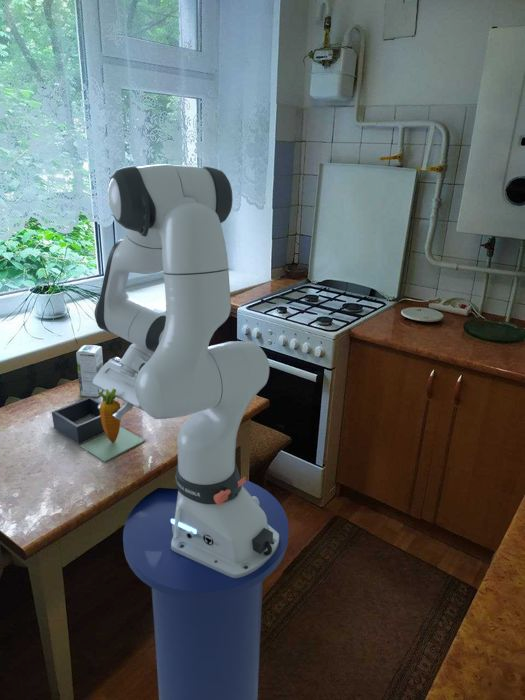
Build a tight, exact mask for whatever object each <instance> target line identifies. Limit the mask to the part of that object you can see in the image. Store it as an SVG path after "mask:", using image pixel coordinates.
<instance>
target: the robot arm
mask: <svg viewBox="0 0 525 700" xmlns="http://www.w3.org/2000/svg"><path fill="white" fill-rule="evenodd" d="M108 184H109V185H108V189H107V201H108V202H107V203H108V206H109V209H110V212H111V213H112V216H113V218H114V220H115V222H117V223H118V224H119V225H120V226H122V227H123V228H124V236H123V238H120V239H119V240H117V241H116V242H115V243H114V244H113V246H112V247H111V249H110V252H109V254H108V257H107V262H106V265H105V271H104V276H103V280H102V285H101V290H100V294H99V298H98V300H97V302H96V304H95V307H94V319H95V322H96V325H97V327H98V328H99V329H100V330H103V331H105V332H108V333H110V334H113V335H115V336H118V337H120V338H121V339H124V340H125V341H127V342H129V343H131V344H130V345H129V347H128V348H127V349H126V351H125V352H124V355H123V356H122V357H121V358H120V357H118V356H114V357H112V358H110V359H108V361H107V362H105V363H103V367H102V368H101V369H100V370H99V372H98V373H97V374H96V376H95V377H94V379H93V385H95V386H96V387H98V388H100V389H102V390H103V392H102V393H103V394H104V396H105V397H106V389H108V393H111V392H112V389H113V388H114V389H116V392H115V395H116V397H115V398H118V399H120V400H121V401H123V402H122V404H121V405H122V406H120V409H119V410H118V411H117V410H115V411H114V413H113V415H112V416H113V417H114V418H116V419H118V420H120V419H121V420H122V418H123V416H124V415H125V414H127V413H128V412H130V411H131V410H132V408H133V407H135V408H137V409H139V410H141V411H143V412H145V413H146V414H147V415H148V416H150V417H151V418H153V419H154V420H165V419H167V420H168V419H174V418H175V419H177V418H183V417H187V416H190V415H191V416H190V417H188V419H186V420H185V422H184V423H183V424H182V425H181V427H180V429H179V431H178V434H177V437H176V443H177V444H176V446H177V464H176V469H175V482H176V483H175V485H176V489H178V497H177V504H176V512H175V517H174V519H171V523H172V532H173V538H172V541H171V549H172V550H173V551H174V552H176V553H179V554H181V555H183V556H185V557H187V558H190V559H192V560H194V561H196V562H198V563H201V564H203V565H205V566H207V567H209V568H212V569H214V570H216V571H218V572H220V573H223V574H225V575H227V576H229V577H232V578H240V577H243V576H246V575H248V574H250V573H252V572H254V571H255V570H257V569H258V568H260V567H261V566H262V565H263V564H264V563H265V562H266V561H267V560H268V559H269V558H270V557H271V556H272V555H273V554H274V552H275V551H276V549H277V547H278V544H279V534H278V533H277V532H276V531H275V530H274V529H273V528H272V527H270V526H269V525H268V523H267V517H266V514H265V512H264V511H263V510H262V509H261V507H260V506H259V504H260V503H259V500H258V498H257V497H256V496H253V497H252V496H251V495H250V494H249V493H248V492H247V490H246V489H245V488H244V487H243V486H242V484H244V483H245V482H246V481H247V477H246V476H244V477H243V478H241V476H240V475H241V474H240V472H239V469H238V466H237V463H236V449H237V437H238V433H239V432H238V431H239V429H240V426H241V423H242V420H243V418H244V416H245V413H246V412H247V410H248V408H249V406H250V405H251V403H252V401H253V400H254V398H255V397H256V396H257V394H258V393H259V392H260V391H261V390H262V389H263V388H264V387H265V386H266V385H267V383H268V380H269V377H270V363H269V359H268V357H267V354H266V353H265V351H264V350H263V348H262V347H261V346H260V345H258V344H257V343H256V342H254V341H243V340H241V341H240V340H239V341H235V340H234V341H225V342H222V343H217V344H213V345H210V342H211V339H212V338H213V336H214V334H215V332H216V331H217V330H218V328H220V327H221V326H222V325H223V324H225V322H226V321H227V320H228V318H229V317H230V314H231V311H232V300H231V298H232V297H231V288H230V287H231V286H230V273H229V271H230V270H229V260H228V252H227V246H226V241H225V235H224V231H223V227H222V223H224V222H225V221H226V220H227V219H228V218H229V215H230V214H231V212H232V209H233V198H234V197H233V189H232V186H231V182H230V180H229V178H228V177H227V175H226V173H224V172H223V171H222V170H220V169H218V168H215V167H210V166H201V167H199V166H191V165H190V166H189V165H173V164H171V163H167V164H166V163H165V164H151V165H150V164H149V165H143V166H136V165H128V166H124V167H121V168H117V169H115V170H114V172H112V175H111V176H110V178H109V183H108ZM162 271H163V282H164V293H165V294H164V295H165V306H163V305H161V306H158V307H156V308H153V307H151V306H148V305H146V304H145V303H142V302H140V301H138V300H136V299H134V298H132V297H131V296H130V295H129V294H128V293H127V292H126V288H127V283H128V279H129V276H130V273H135V274H141V275H151V274H156V273H160V272H162ZM209 345H210V346H209ZM102 402H105V400H104V399H103V398H102V396H101V395H100V404H99V406H98V409H100V406H101V403H102ZM244 480H245V481H244ZM182 547H183V548H182ZM245 568H247V569H245Z"/></svg>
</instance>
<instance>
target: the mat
mask: <svg viewBox="0 0 525 700" xmlns="http://www.w3.org/2000/svg"><path fill="white" fill-rule="evenodd" d="M144 442H146V441H145V439H144V438H142V437H140V436H139V435H137V434H135V433H133V432H131V431H129V430H128V429H127V428H125V427H122V426H120V429H119V433H118V436H117V438H116V441H115V442H114V443H113V442H111V441H110V440H109V439H108V437H107V436H106V434H105V433H103V434H101V435H99V436H96V437H94V438H92V439H90V440H88V441H86V442H84V443H83V444H82V443H81V445H80V448H82V449H84V450H86V451H87V452H88V453H90V454H92V455H93V456H95V457H96V458H98V459H100V460H101V461H103V462H104V463H105V462H107V461H110V460H112V459H113V458H115V457H118V456H120V455H121V454H123V453H125V452H127V451H129V450H132V449H133V448H135V447H136V446H139V445H141V444H143V443H144Z"/></svg>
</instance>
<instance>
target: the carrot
mask: <svg viewBox="0 0 525 700" xmlns="http://www.w3.org/2000/svg"><path fill="white" fill-rule="evenodd" d="M115 392H116V389H114V388H113V389H112V392H111V393H108V389H106V397H105V396H104V394H103V392H101V391H99V392H98V393H99V394H100V397H101V396H102V398H103V399H104V400H105V402H102V403H101V406H100V417H101V423H102V426H103V429H104V434H106V436H107V437H108V439H109V440H110V441H111V442H113V443H114V442H115V441H116V438H117V436H118V433H119V429H120V427H121V422H122V418H121V419H120V420H118V419H116V418H114V417H113V416H112V415H113V413H114V411H115V410H117V411H118V410H119V409H120V408H121V403H120V402H118V401H116V400H115V399H116V398H117V397H116V395H115Z"/></svg>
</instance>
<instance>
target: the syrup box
mask: <svg viewBox="0 0 525 700" xmlns="http://www.w3.org/2000/svg"><path fill="white" fill-rule="evenodd" d="M75 357H76V367H77V375H78V387H79V396H80V397H92V398H94V397H97V398H99V397H101V395H100V394H99V393H98V392H99V391H101V392H102V393H103V391H104V390H102V389H100V388H98V387H96V386H95V385H93V379H94V377H95V376H96V374H97V373H98V372H99V370H100V369H101V368H102V367H103V366H104V360H103V359H104V358H103V347H102V346H100V345H93V344H84V345H82V346H81V347H80V348H79V349H78V350H77V351H76V353H75Z"/></svg>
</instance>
